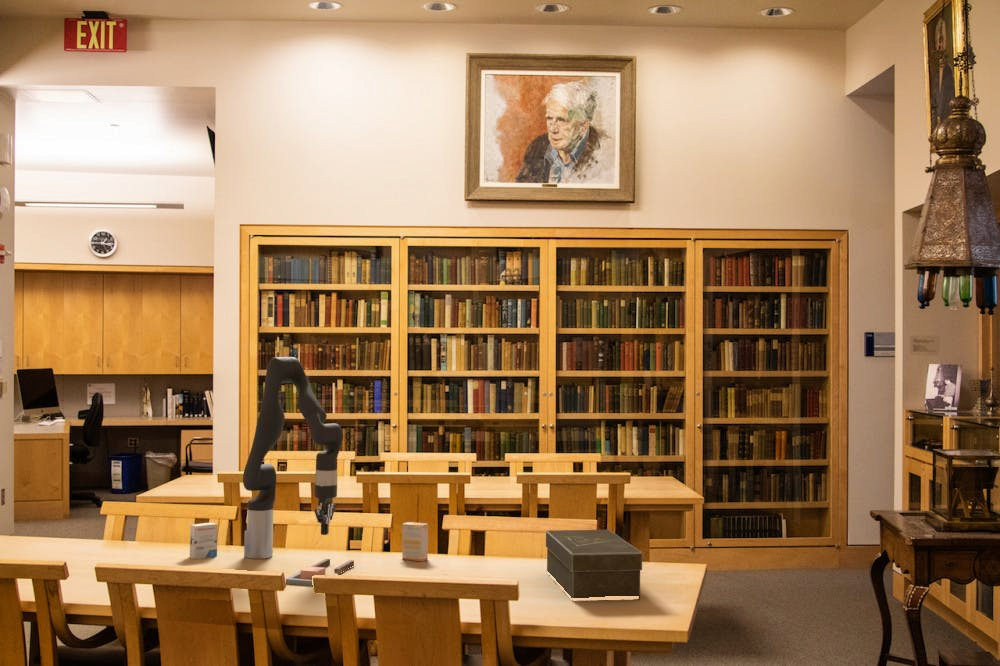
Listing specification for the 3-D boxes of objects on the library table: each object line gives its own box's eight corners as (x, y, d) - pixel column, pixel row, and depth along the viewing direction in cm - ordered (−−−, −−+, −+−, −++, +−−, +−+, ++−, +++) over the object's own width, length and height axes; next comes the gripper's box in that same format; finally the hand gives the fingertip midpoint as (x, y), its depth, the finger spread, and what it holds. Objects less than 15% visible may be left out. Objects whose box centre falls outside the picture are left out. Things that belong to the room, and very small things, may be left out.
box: (571, 603, 309) (571, 553, 309) (545, 574, 348) (545, 530, 348) (642, 601, 313) (642, 552, 313) (608, 572, 351) (609, 529, 352)
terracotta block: (300, 582, 330) (300, 570, 330) (308, 578, 336) (308, 566, 336) (317, 584, 328) (317, 571, 328) (325, 580, 334) (325, 567, 334)
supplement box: (428, 559, 367) (428, 523, 367) (421, 562, 363) (422, 525, 363) (408, 557, 371) (408, 521, 371) (401, 559, 366) (402, 523, 367)
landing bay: (284, 583, 327) (284, 579, 327) (301, 575, 339) (301, 570, 339) (322, 586, 324) (322, 581, 324) (337, 577, 336) (337, 573, 336)
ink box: (211, 554, 371) (212, 521, 371) (217, 556, 367) (218, 524, 367) (189, 557, 365) (189, 524, 366) (194, 559, 361) (195, 526, 362)
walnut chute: (309, 572, 343) (309, 567, 343) (325, 564, 356) (326, 558, 357) (338, 575, 340) (338, 569, 341) (353, 566, 354) (353, 560, 354)
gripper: (323, 479, 349) (321, 530, 349) (307, 485, 336) (306, 537, 336) (343, 481, 348) (342, 531, 348) (328, 486, 335) (327, 539, 335)
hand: (324, 534), depth 342 cm, fingers closed
